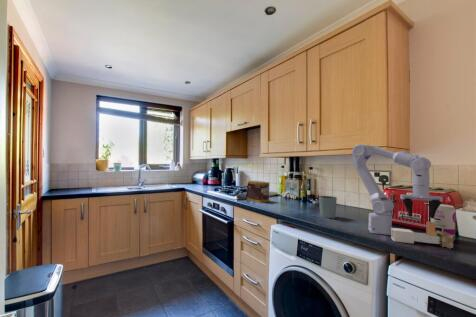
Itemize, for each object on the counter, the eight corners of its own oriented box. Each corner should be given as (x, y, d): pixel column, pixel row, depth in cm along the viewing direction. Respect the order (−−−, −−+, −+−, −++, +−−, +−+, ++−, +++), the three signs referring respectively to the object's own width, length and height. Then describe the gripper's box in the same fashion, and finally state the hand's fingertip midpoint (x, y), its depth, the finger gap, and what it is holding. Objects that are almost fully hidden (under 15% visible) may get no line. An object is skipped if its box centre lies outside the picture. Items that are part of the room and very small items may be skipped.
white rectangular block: (394, 241, 100) (394, 230, 100) (391, 238, 105) (391, 227, 105) (413, 243, 98) (414, 232, 98) (409, 240, 102) (410, 229, 102)
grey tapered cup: (337, 219, 136) (338, 198, 136) (319, 218, 138) (320, 197, 138) (334, 215, 146) (334, 196, 146) (317, 214, 148) (317, 195, 148)
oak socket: (442, 247, 94) (442, 235, 94) (435, 242, 100) (435, 230, 100) (452, 248, 93) (453, 236, 93) (445, 243, 99) (445, 231, 99)
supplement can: (454, 239, 106) (455, 205, 106) (455, 243, 99) (455, 208, 100) (431, 234, 111) (431, 203, 111) (430, 238, 105) (430, 205, 105)
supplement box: (260, 202, 184) (261, 182, 184) (246, 199, 195) (247, 181, 195) (269, 201, 191) (269, 182, 191) (255, 198, 202) (255, 180, 202)
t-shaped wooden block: (404, 240, 100) (405, 220, 100) (402, 237, 103) (402, 219, 103) (448, 245, 95) (449, 224, 95) (444, 242, 98) (445, 222, 98)
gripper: (404, 185, 100) (404, 217, 100) (446, 186, 95) (446, 220, 95) (398, 184, 107) (398, 214, 106) (438, 185, 102) (438, 217, 102)
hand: (420, 217), depth 101 cm, fingers open, 7 cm apart
